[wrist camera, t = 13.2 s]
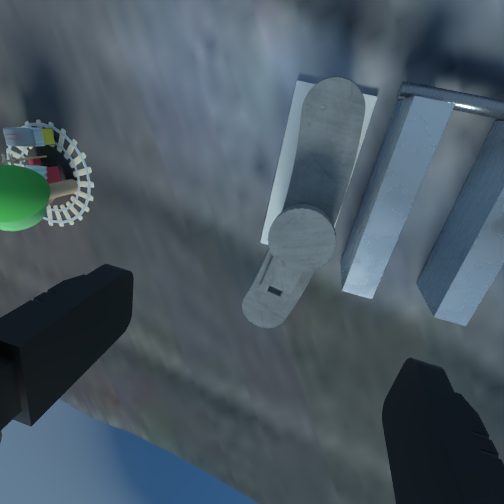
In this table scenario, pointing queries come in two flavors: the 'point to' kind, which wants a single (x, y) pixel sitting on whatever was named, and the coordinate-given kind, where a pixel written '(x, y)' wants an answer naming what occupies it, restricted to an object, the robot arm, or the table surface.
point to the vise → (459, 221)
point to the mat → (290, 152)
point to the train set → (38, 179)
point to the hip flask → (309, 200)
